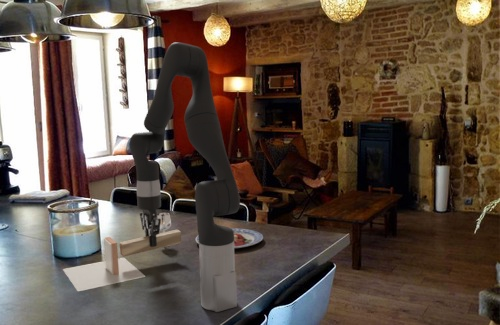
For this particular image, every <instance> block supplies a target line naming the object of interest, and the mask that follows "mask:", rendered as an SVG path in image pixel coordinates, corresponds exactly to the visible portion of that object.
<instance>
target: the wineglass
mask: <svg viewBox="0 0 500 325" xmlns="http://www.w3.org/2000/svg"><path fill="white" fill-rule="evenodd" d="M157 215H158V219H161V223H160V231H161V232H162V233H163V232H167V231H169V229H171V227H172V219H171V215H170V213H169V212H160V213H159V212H158V213H157ZM160 231H159V232H160ZM167 247H169V246H166V247H165V248H167Z"/></svg>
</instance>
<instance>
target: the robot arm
mask: <svg viewBox="0 0 500 325" xmlns="http://www.w3.org/2000/svg"><path fill="white" fill-rule="evenodd" d="M159 72H160V73H159V76H158V80H157V84H156V87H155V92H154V95H153V98H152V101H151V103H150V106H149V109H148V111H147V113H146V116H144V117H145V118H144V121H143V126H144V128H145V129H146V130H147V131H145V132H135V133H133V134H132V135H131V137H130V139H129V149H130V153H131V155H132V158H133V162H134V165H135V169H136V170H135V171H136V200H137V202H136V203H137V209H138V210H140V211H141V212H139V216H140V217H139V218H140V223H141V227H142V230H143V232H144V233H145V234H144V235H145V236H144V237H146V236H149V243H150V247H155V246H157V240H156V235H157V234H159V233H160V223H161V219H158V215H157V214H158V213H157V209H160V208H161V207H162V200H161V199H162V194H161V182H160V170H159V164H158V162H156V161H154V160H149V158H148V156H147V155H149V154H156V153H158V152H160V151H161V149H162V148H163V147H164V142H165V136H166V129H167V126H168V124H169V122H170V120H171V118H172V115H173V113H174V109H175V107H174V100H173V94H172V84H173V82H174V80H175V78H176V76H178V77H184V78H189V80H190V82H191V87H192V96H191V99H190V100H189V102H188V105H187V106H186V109H185V111H184V112H185V113H184V116H183V117H184V125H185V130H186V133H187V138H188V141H189V143H190V144H191V145H192V146H193V148H194V149H195V150H196V151H197V152H198V153H199V154H200V156H201V157H203V158H204V159H205V160H206V162H207V163H208V164H209V165H210V167H211V168H212V170H213V172H214V175H215V176H216V179H215V180H206V181H205V180H204V181H201V182H199V183H197V184H196V187H195V191H194V192H195V193H194V199H195V210H196V211H195V212H196V227H197V233H198V234H197V236H198V235H199V244H198V254H199V255H198V256H199V280H200V282H199V284H200V285H199V286H200V304H201V307H202V308H203V309H205V310H208V311H213V312H215V313H219V312H222V311H226V310H230V309H232V308H236V307H238V302H237V300H238V299H237V272H236V269H235V264H236V263H235V249H234V232H233V230H232V229H231V227H228V226H224V225H220V224H217V223H215V220H214V217H219V216H227V215H232V214H236V213H237V212H238V211H239V210H240V207H241V206H240V205H241V199H240V192H239V187H238V185H237V181H236V178H235V176H234V172H233V169H232V166H231V163H230V160H229V158H228V154H227V150H226V146H225V143H224V142H225V141H224V138H223V133H222V128H221V124H220V119H219V116H218V112H217V109H216V106H215V105H216V104H215V100H214V96H213V92H212V85H211V78H210V71H209V64H208V59H207V55H206V52H205V51H204V50H203V49H202V48H201V47H199V46H196V45H192V44H189V43H185V42H176V41H175V42H173V43H171V44H170V45H169V46H168V47H167V50H166V51H165V54H164V57H163V60H162V65H161V69H160V71H159Z"/></svg>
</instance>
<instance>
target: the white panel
mask: <svg viewBox="0 0 500 325" xmlns="http://www.w3.org/2000/svg"><path fill="white" fill-rule="evenodd" d="M118 267H119V274H117V275H112V274H111V273H110V272H109V271H108V270H107V269H106V267H105V260H104V261H99V262H93V263H88V264H82V265H77V266H72V267H71V266H70V267H66V268H62V271H63V272H64V274H65V275H66V276H67V278H68V280H69V281H70V282H71V284H72V285H73V287H74V288H75V290H76V291H77V292H84V291H86V290H93V289H96V288H101V287H105V286H109V285H115V284H118V283H125V282H128V281H134V280H138V279H143V278H146V275H145V274H144V273H143V272H142V271H141V270H139V269H138V268H137V267H136V266H135V265H134V264H132V263H131V262H130V261H128V259H126V258H125V257H123V256H122V257H120V258H119V257H118Z"/></svg>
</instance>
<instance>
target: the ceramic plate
mask: <svg viewBox="0 0 500 325" xmlns="http://www.w3.org/2000/svg"><path fill="white" fill-rule="evenodd" d="M230 228H231V227H230ZM231 229H232V230H233V232H234V250H236V249H241V248H246V247H250V246H254V245H256V244H259V243H260V242H261V241H263V239H264V236H263V234H262V233H261V232H258V231H256V230H253V229H252V230H251V229H247V228H236V227H235V228H234V227H233V228H231ZM195 242H196V244H198V245H199V235H198V234H197V236H196V237H195Z"/></svg>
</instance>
